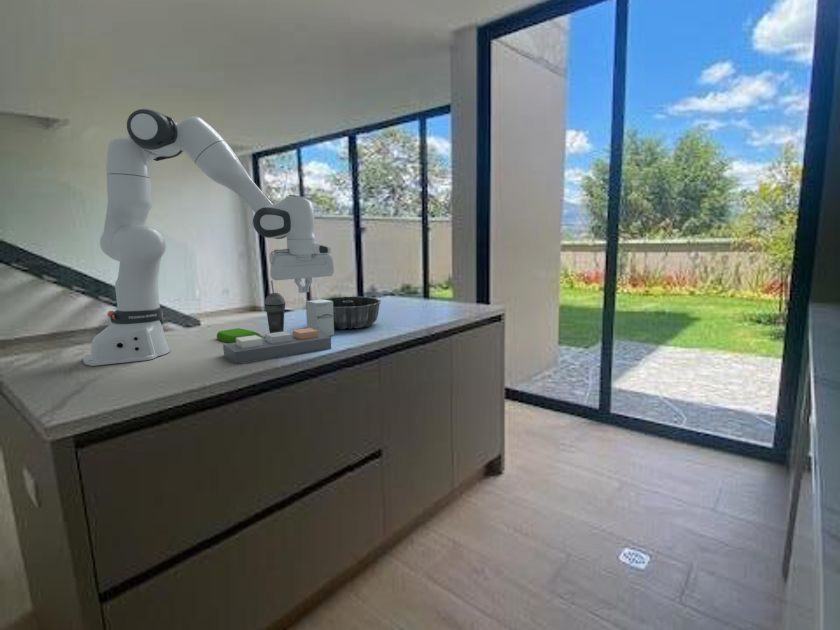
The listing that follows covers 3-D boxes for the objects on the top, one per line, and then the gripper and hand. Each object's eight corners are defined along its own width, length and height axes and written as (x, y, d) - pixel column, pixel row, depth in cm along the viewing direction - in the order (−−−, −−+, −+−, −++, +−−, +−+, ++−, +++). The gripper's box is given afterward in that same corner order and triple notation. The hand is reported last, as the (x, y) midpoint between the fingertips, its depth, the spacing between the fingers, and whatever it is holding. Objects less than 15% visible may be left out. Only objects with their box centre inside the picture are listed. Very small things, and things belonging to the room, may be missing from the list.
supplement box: (316, 338, 167) (314, 303, 164) (306, 334, 172) (305, 300, 170) (334, 335, 171) (333, 301, 169) (324, 332, 177) (323, 298, 175)
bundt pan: (371, 333, 175) (371, 306, 173) (304, 331, 179) (303, 305, 177) (387, 320, 201) (387, 297, 199) (328, 318, 205) (327, 295, 203)
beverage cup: (274, 338, 166) (271, 282, 163) (262, 336, 170) (258, 280, 167) (291, 335, 172) (288, 280, 168) (279, 332, 176) (276, 279, 173)
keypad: (236, 363, 135) (235, 352, 134) (223, 355, 144) (223, 344, 143) (331, 348, 153) (330, 337, 152) (315, 341, 162) (314, 331, 161)
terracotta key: (300, 342, 149) (300, 333, 149) (293, 339, 154) (292, 330, 153) (318, 339, 153) (317, 330, 152) (310, 336, 157) (309, 327, 157)
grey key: (272, 346, 144) (272, 337, 143) (265, 343, 148) (265, 333, 148) (291, 343, 147) (291, 334, 147) (284, 340, 152) (283, 331, 151)
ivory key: (242, 351, 138) (242, 341, 138) (236, 347, 143) (235, 337, 142) (263, 348, 142) (262, 338, 141) (256, 344, 147) (255, 335, 146)
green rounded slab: (241, 335, 174) (282, 345, 159) (213, 340, 166) (253, 352, 151) (241, 327, 174) (282, 337, 159) (213, 332, 165) (253, 343, 150)
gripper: (273, 250, 139) (276, 296, 142) (335, 247, 152) (337, 290, 154) (265, 249, 144) (268, 294, 147) (326, 247, 157) (328, 288, 159)
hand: (304, 292), depth 151 cm, fingers closed
